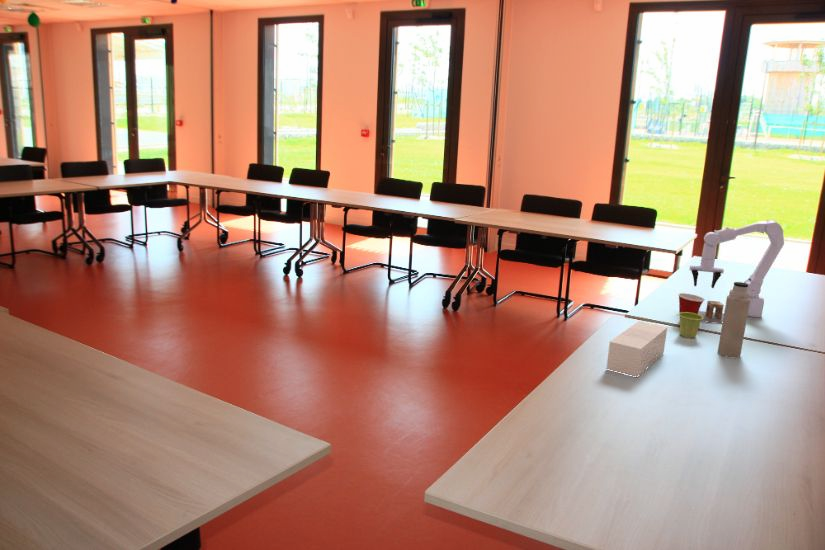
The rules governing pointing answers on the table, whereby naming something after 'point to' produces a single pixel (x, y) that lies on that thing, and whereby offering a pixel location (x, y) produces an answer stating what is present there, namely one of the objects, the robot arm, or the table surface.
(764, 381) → the table surface
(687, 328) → the plant pot
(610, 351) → the beige rectangular block
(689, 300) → the plastic cup
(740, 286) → the thermos bottle
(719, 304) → the stool
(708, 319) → the mat
